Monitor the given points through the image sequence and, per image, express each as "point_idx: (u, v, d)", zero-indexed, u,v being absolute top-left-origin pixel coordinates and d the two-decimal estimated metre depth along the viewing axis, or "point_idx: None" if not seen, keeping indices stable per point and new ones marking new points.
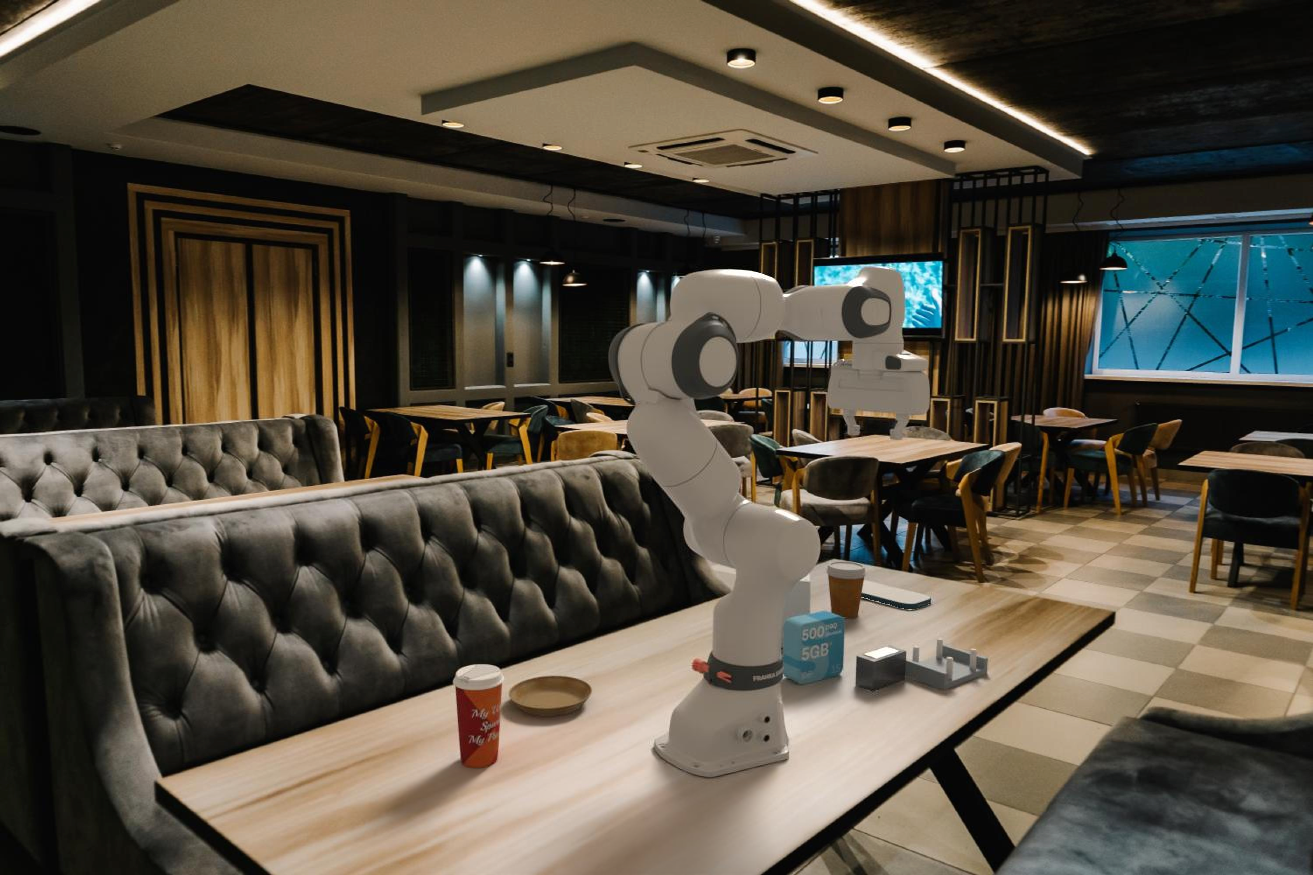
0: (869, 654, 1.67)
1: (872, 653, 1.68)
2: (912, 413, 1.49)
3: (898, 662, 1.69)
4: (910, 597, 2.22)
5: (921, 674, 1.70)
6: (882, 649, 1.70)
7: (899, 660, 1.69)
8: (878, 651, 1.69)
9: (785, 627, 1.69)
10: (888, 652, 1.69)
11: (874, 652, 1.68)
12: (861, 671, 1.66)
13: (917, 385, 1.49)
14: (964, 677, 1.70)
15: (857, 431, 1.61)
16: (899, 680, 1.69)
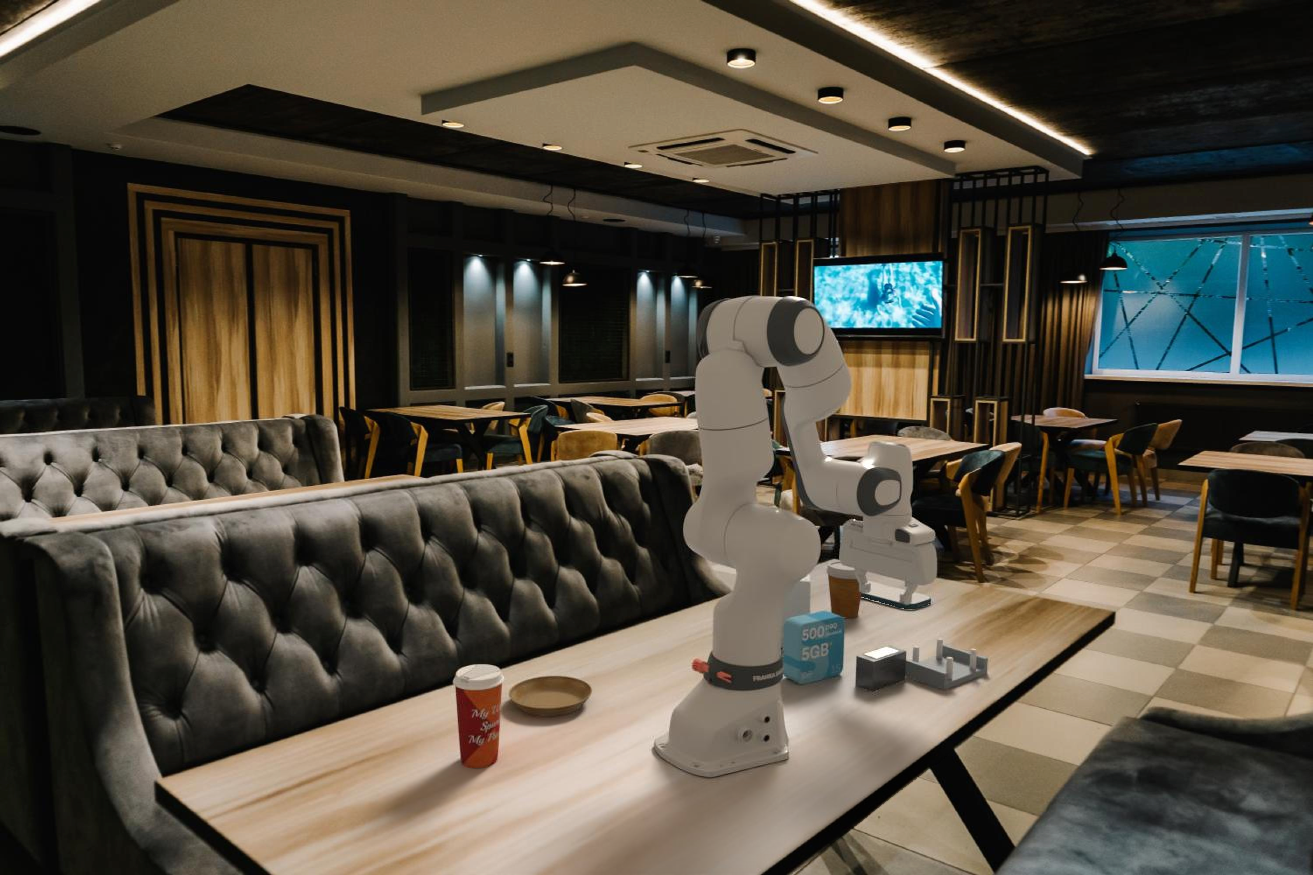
0: (869, 654, 1.67)
1: (872, 653, 1.68)
2: (920, 584, 1.59)
3: (898, 662, 1.69)
4: None
5: (921, 674, 1.70)
6: (882, 649, 1.70)
7: (899, 660, 1.69)
8: (878, 651, 1.69)
9: (785, 627, 1.69)
10: (888, 652, 1.69)
11: (874, 652, 1.68)
12: (861, 671, 1.66)
13: (925, 558, 1.58)
14: (964, 677, 1.70)
15: (868, 589, 1.71)
16: (899, 680, 1.69)
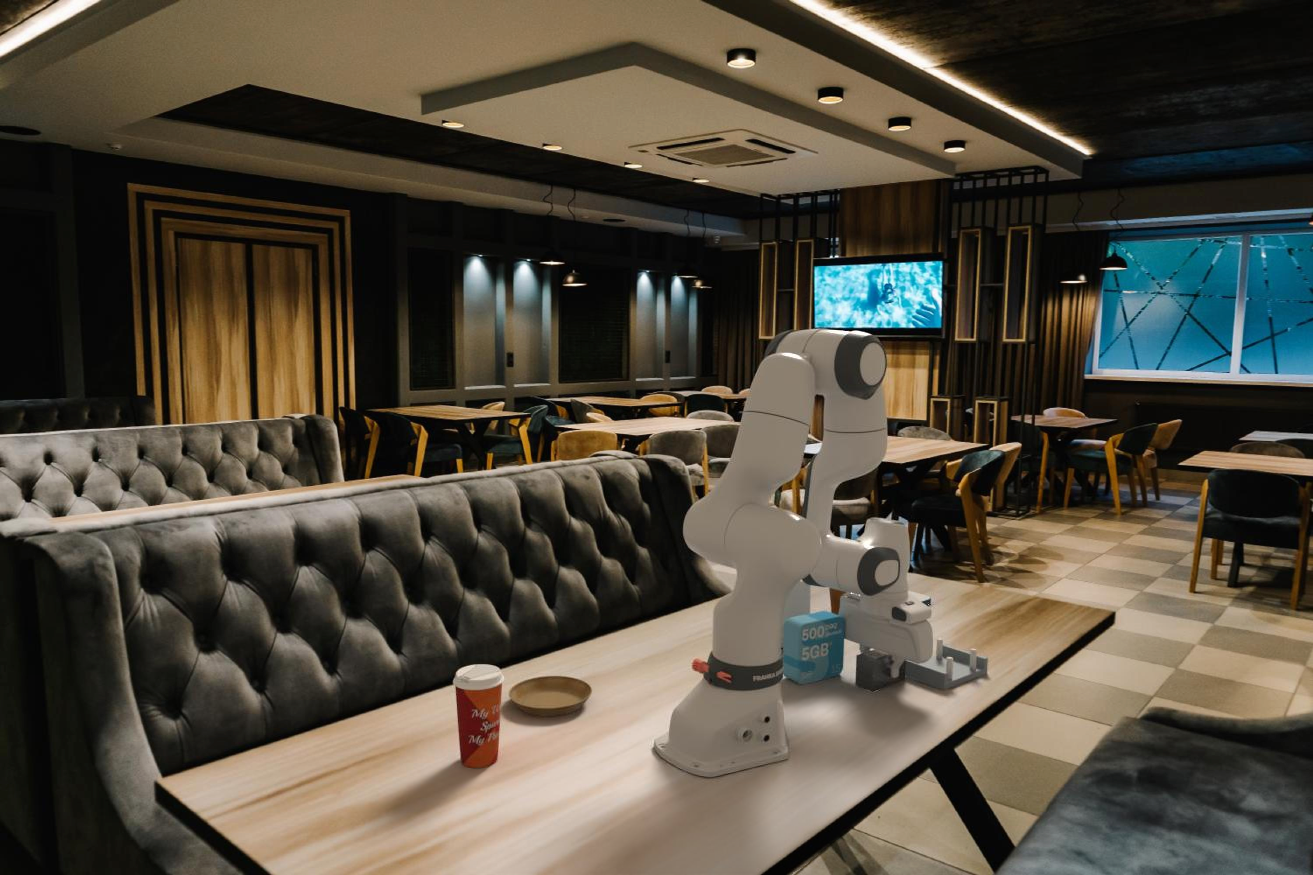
0: (869, 654, 1.67)
1: (872, 653, 1.68)
2: (916, 662, 1.60)
3: None
4: None
5: (921, 674, 1.70)
6: None
7: None
8: (878, 651, 1.69)
9: (785, 627, 1.69)
10: None
11: (874, 651, 1.68)
12: (861, 670, 1.66)
13: (921, 637, 1.59)
14: (964, 677, 1.70)
15: None
16: (899, 680, 1.69)
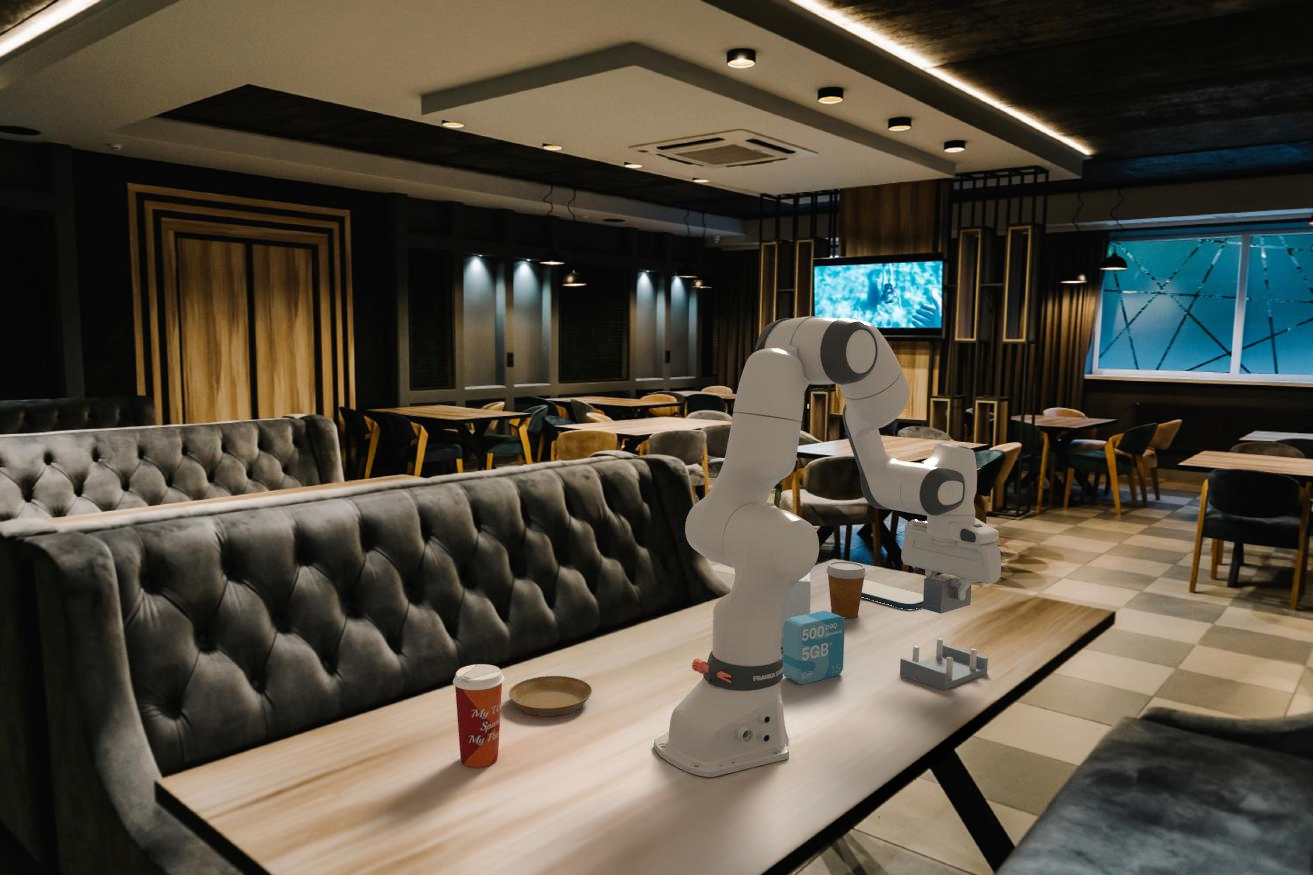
0: (936, 577, 1.71)
1: (939, 576, 1.72)
2: (985, 582, 1.64)
3: None
4: (909, 597, 2.22)
5: (921, 674, 1.70)
6: None
7: None
8: (945, 575, 1.72)
9: (785, 627, 1.69)
10: None
11: (940, 575, 1.72)
12: (929, 593, 1.70)
13: (990, 557, 1.63)
14: (964, 677, 1.70)
15: None
16: (965, 603, 1.73)
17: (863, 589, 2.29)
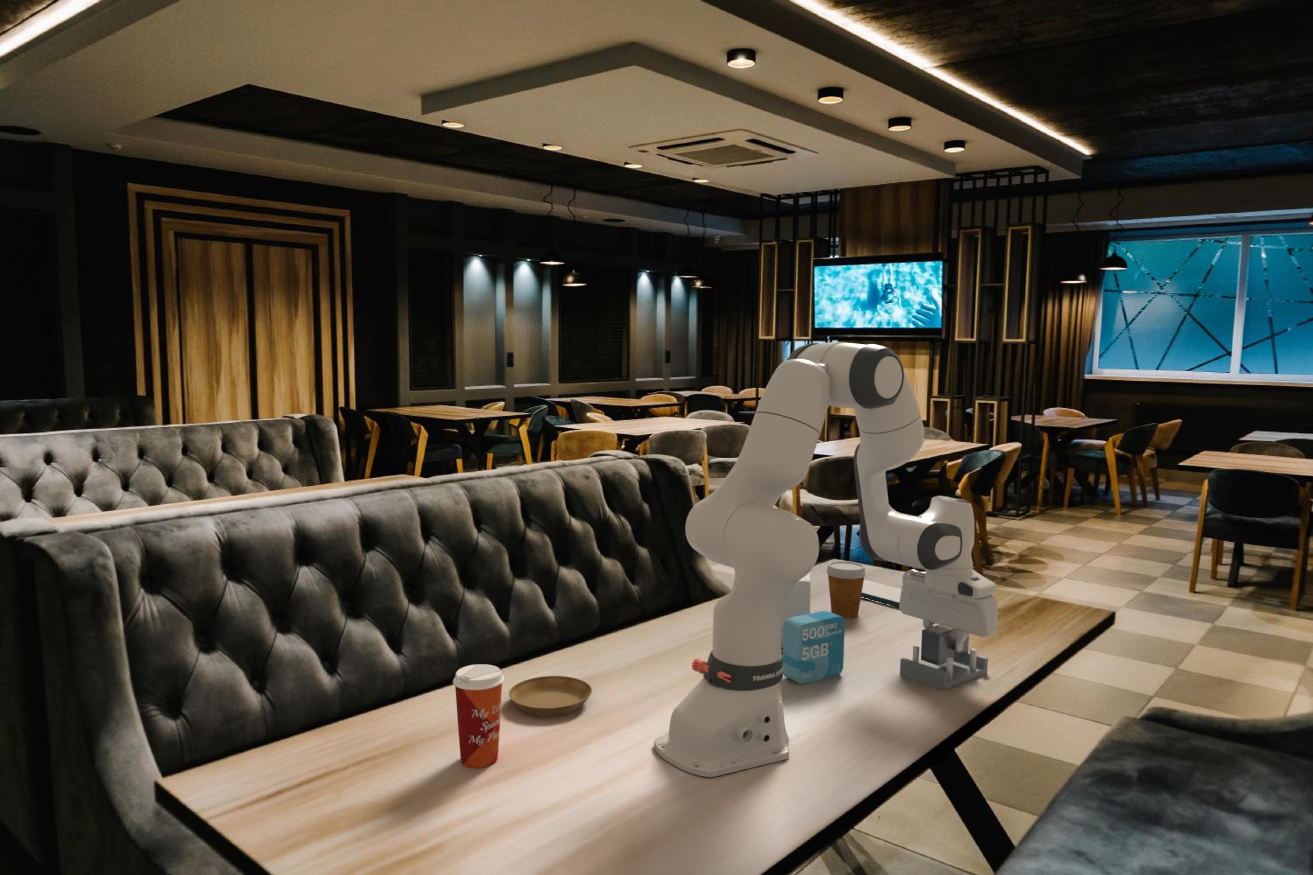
0: (934, 628, 1.72)
1: (937, 627, 1.73)
2: (983, 636, 1.65)
3: None
4: None
5: (921, 674, 1.70)
6: None
7: None
8: (942, 626, 1.73)
9: (785, 627, 1.69)
10: None
11: (938, 626, 1.73)
12: (927, 645, 1.71)
13: (988, 611, 1.64)
14: (964, 677, 1.70)
15: None
16: (962, 654, 1.74)
17: (863, 589, 2.29)
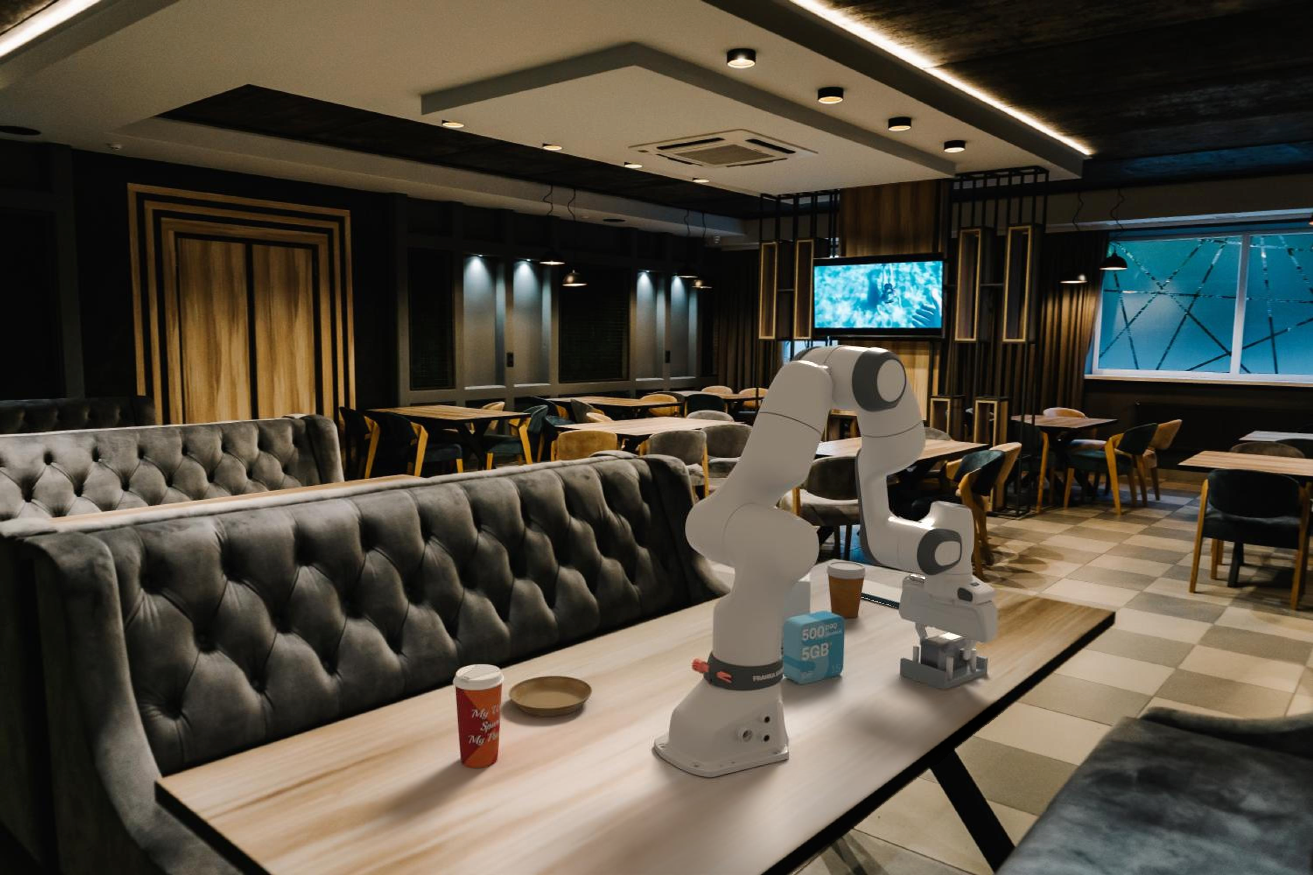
0: (933, 639, 1.72)
1: (936, 638, 1.73)
2: (982, 641, 1.65)
3: (961, 647, 1.74)
4: None
5: (921, 674, 1.70)
6: (945, 635, 1.75)
7: (962, 645, 1.74)
8: (942, 637, 1.74)
9: (785, 627, 1.69)
10: (951, 637, 1.73)
11: (937, 637, 1.73)
12: (926, 655, 1.71)
13: (987, 617, 1.64)
14: (964, 677, 1.70)
15: None
16: (962, 665, 1.74)
17: (863, 589, 2.29)
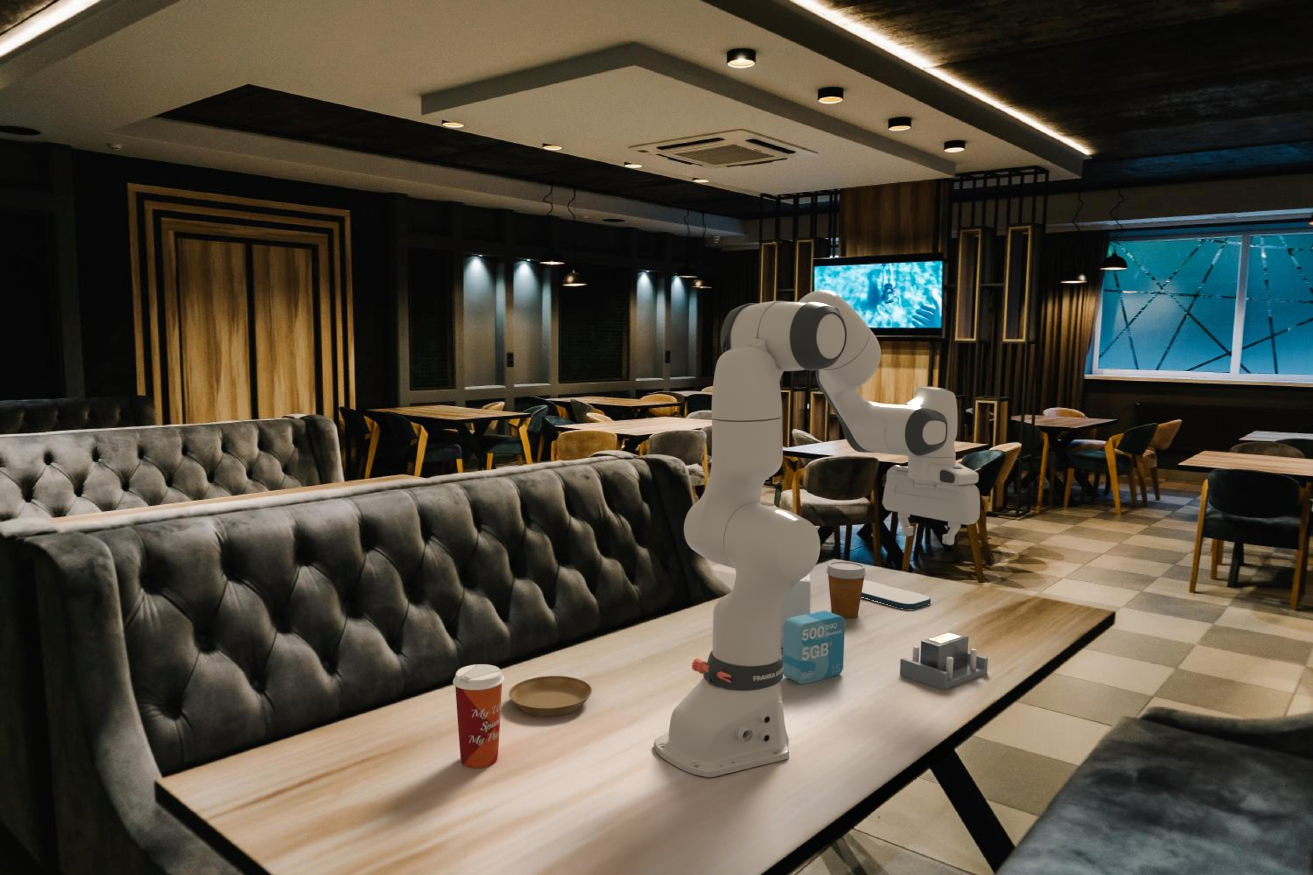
0: (933, 639, 1.72)
1: (936, 638, 1.73)
2: (964, 523, 1.65)
3: (961, 647, 1.74)
4: (909, 597, 2.22)
5: (921, 674, 1.70)
6: (945, 635, 1.75)
7: (962, 645, 1.74)
8: (942, 637, 1.74)
9: (785, 627, 1.69)
10: (951, 637, 1.73)
11: (937, 637, 1.73)
12: (926, 655, 1.71)
13: (969, 498, 1.64)
14: (964, 677, 1.70)
15: (911, 532, 1.77)
16: (962, 665, 1.74)
17: (863, 589, 2.29)
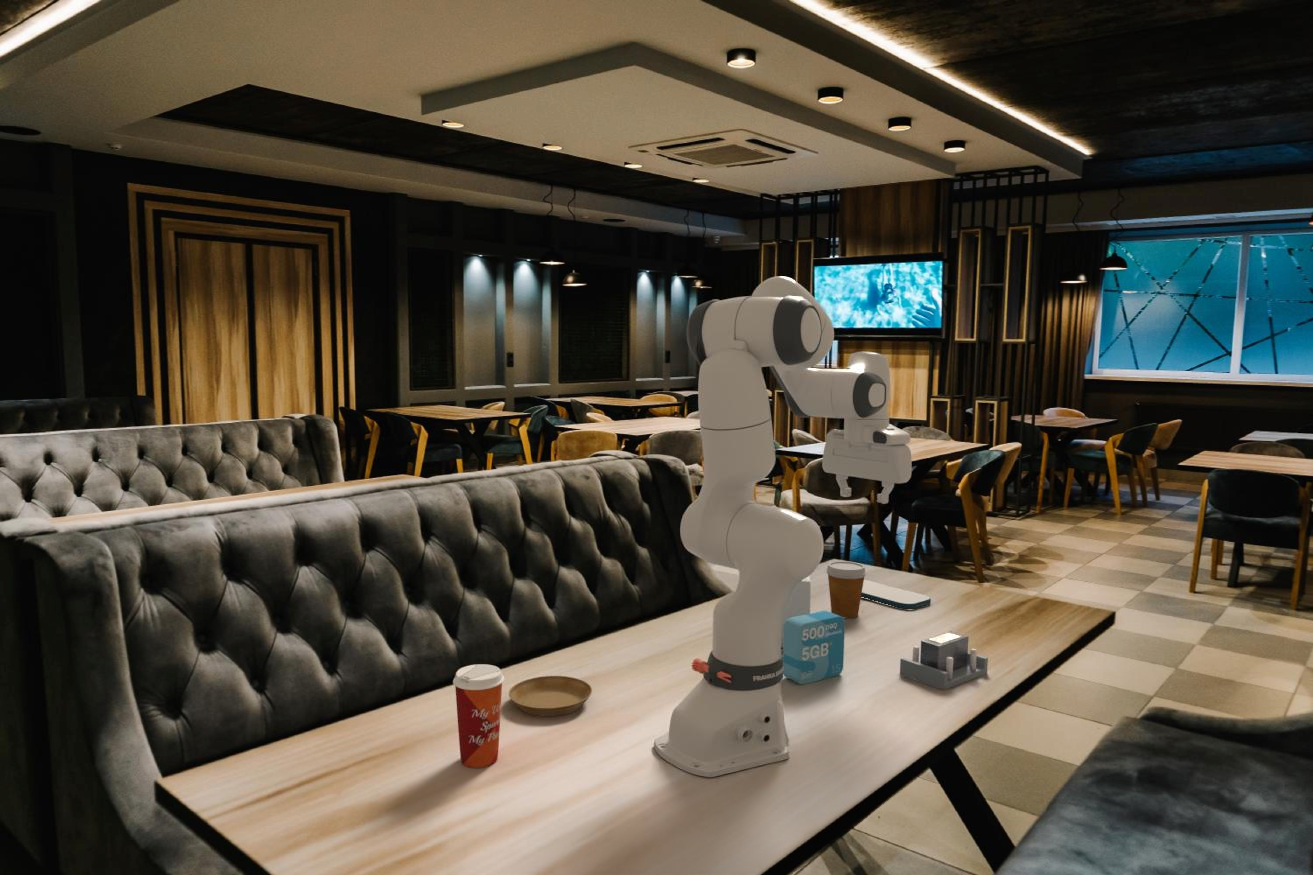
0: (933, 639, 1.72)
1: (936, 638, 1.73)
2: (896, 481, 1.71)
3: (961, 647, 1.74)
4: (909, 597, 2.22)
5: (921, 674, 1.70)
6: (945, 635, 1.75)
7: (962, 645, 1.74)
8: (942, 637, 1.74)
9: (785, 627, 1.69)
10: (951, 637, 1.73)
11: (937, 637, 1.73)
12: (926, 655, 1.71)
13: (900, 457, 1.71)
14: (964, 677, 1.70)
15: (849, 493, 1.83)
16: (962, 665, 1.74)
17: (863, 589, 2.29)
